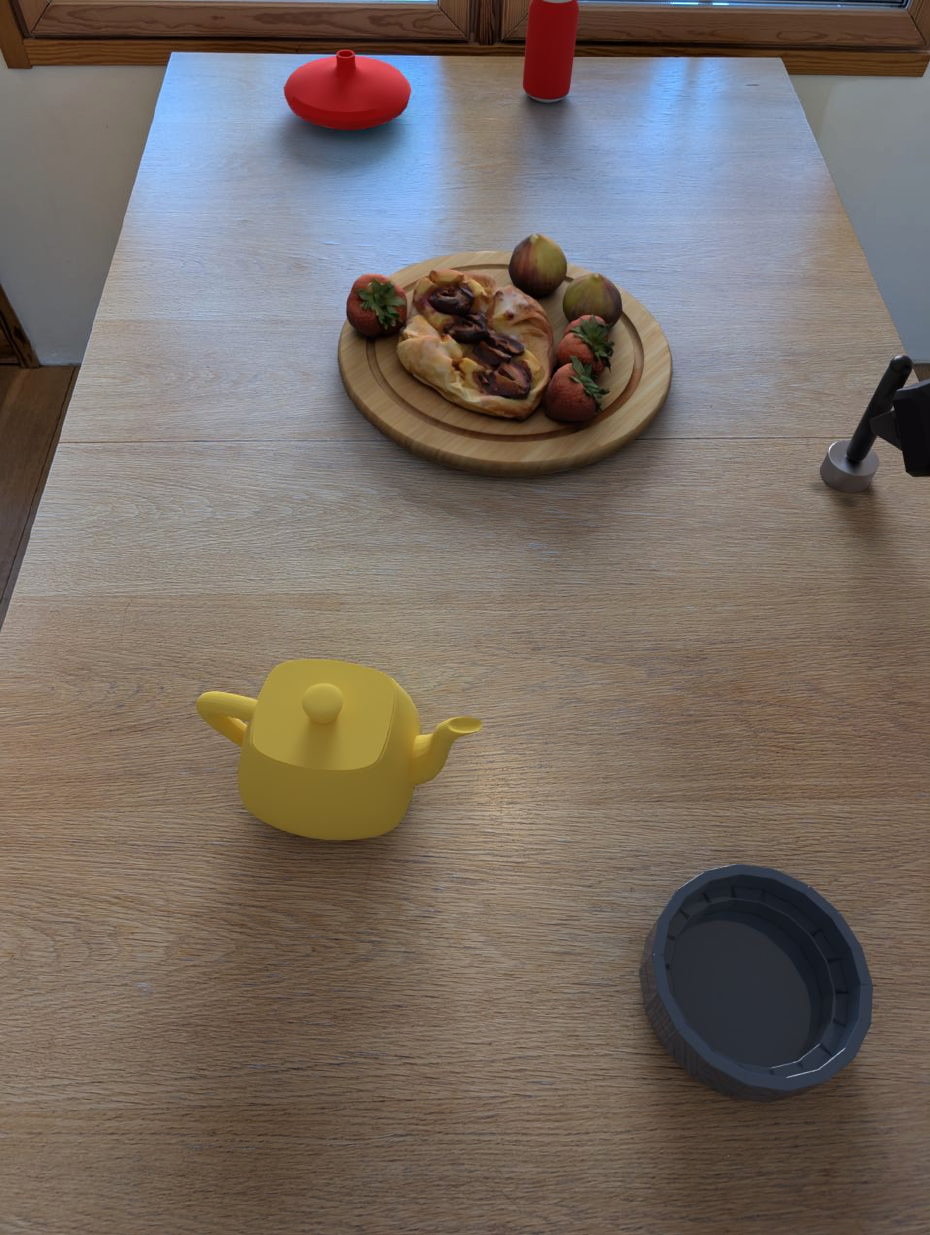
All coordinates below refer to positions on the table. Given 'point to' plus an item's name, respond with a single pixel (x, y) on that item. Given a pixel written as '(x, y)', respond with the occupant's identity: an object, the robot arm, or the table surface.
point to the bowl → (755, 984)
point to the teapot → (330, 748)
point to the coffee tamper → (864, 435)
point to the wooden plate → (503, 360)
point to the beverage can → (550, 48)
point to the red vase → (347, 92)
